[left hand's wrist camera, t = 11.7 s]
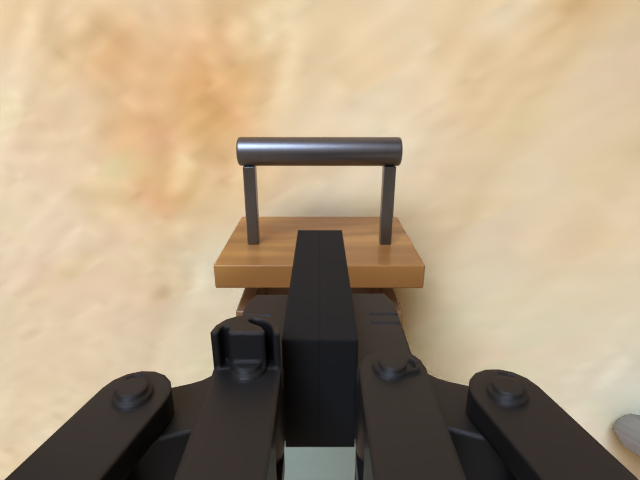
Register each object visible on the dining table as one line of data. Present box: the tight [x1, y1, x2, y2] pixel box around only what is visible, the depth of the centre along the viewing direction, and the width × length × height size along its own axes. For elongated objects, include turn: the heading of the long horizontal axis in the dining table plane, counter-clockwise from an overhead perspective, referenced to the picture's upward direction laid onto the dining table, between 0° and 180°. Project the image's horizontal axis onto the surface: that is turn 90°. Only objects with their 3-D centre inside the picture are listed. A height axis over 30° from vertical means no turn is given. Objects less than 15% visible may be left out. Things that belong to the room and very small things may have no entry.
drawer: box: [214, 137, 425, 324], centre depth 25 cm, size 20×10×8 cm, turn 0°
